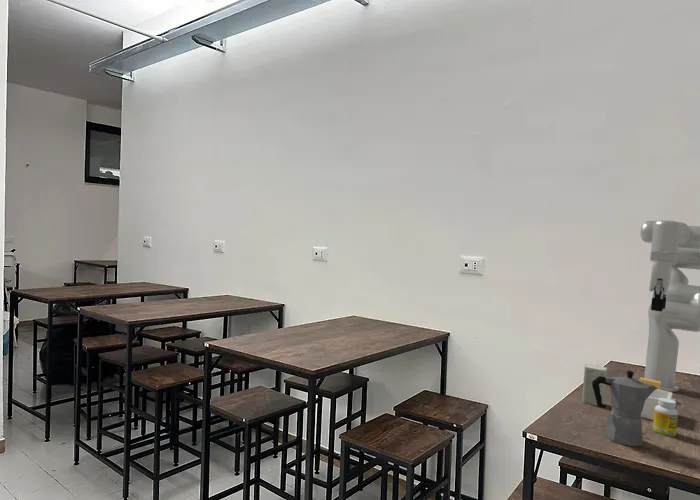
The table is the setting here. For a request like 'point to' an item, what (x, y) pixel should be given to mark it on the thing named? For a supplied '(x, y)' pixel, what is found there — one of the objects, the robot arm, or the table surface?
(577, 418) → the table surface
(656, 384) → the lid
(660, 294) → the robot arm
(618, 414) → the coffeepot
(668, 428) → the supplement bottle
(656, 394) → the tub
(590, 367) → the skincare box
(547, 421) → the table surface
